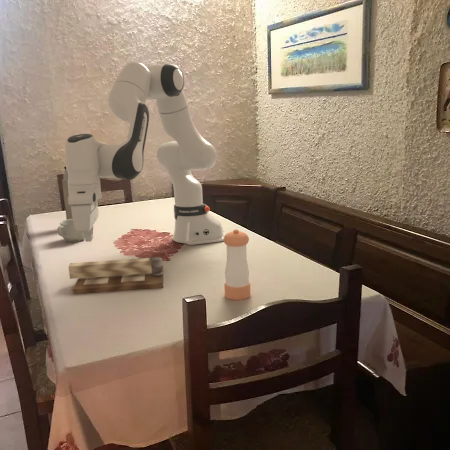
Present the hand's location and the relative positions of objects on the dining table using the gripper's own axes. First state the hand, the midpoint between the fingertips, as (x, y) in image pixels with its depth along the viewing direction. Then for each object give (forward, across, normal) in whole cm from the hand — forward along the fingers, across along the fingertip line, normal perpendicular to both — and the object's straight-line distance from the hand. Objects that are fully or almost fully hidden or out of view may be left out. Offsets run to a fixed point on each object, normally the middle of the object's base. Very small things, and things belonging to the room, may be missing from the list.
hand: (89, 240), depth 139 cm
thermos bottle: (+15, -81, -19) cm, 84 cm away
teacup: (+15, -59, -17) cm, 63 cm away
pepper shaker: (+16, +11, +41) cm, 46 cm away
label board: (+15, -7, +7) cm, 18 cm away
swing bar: (+13, -7, +6) cm, 16 cm away
